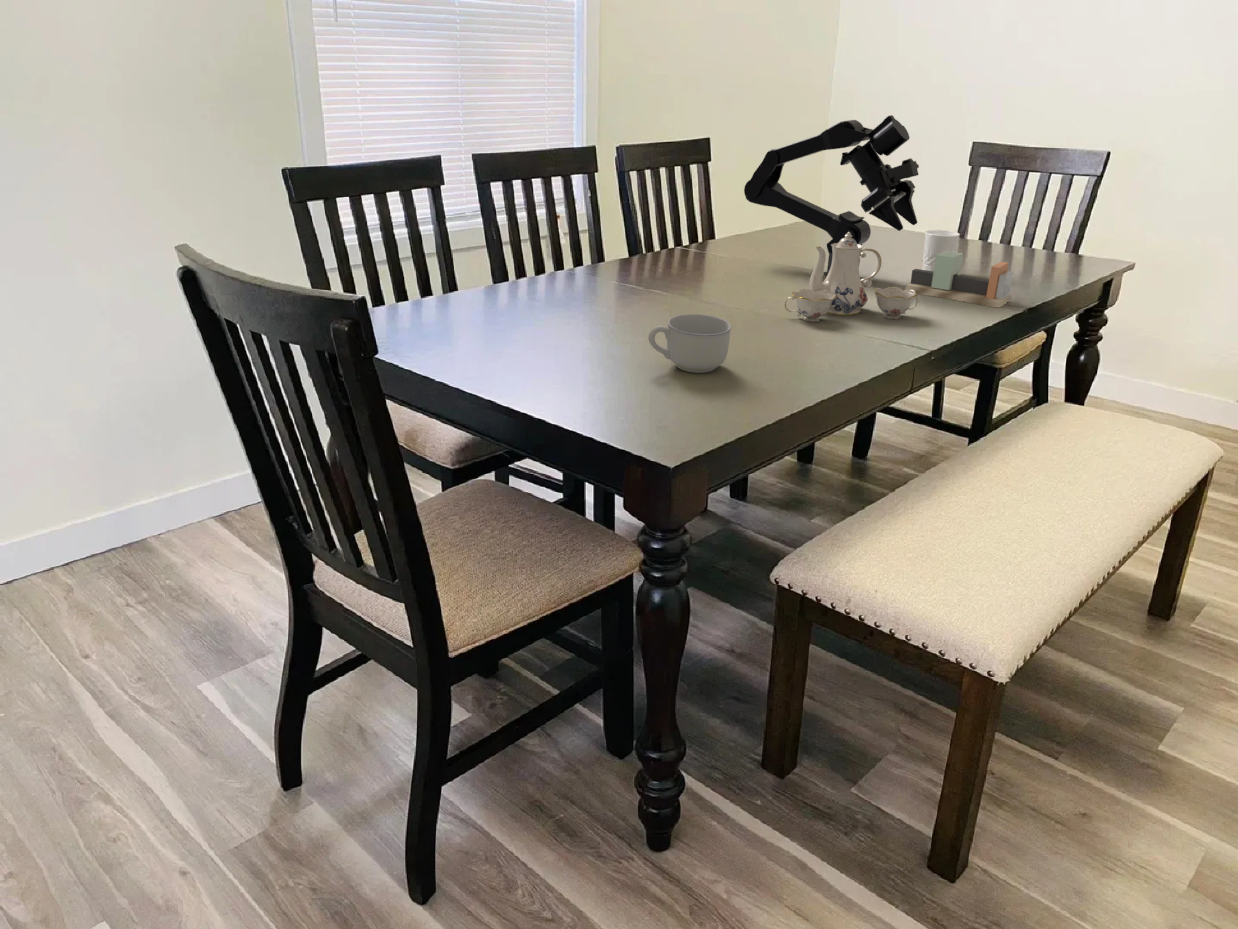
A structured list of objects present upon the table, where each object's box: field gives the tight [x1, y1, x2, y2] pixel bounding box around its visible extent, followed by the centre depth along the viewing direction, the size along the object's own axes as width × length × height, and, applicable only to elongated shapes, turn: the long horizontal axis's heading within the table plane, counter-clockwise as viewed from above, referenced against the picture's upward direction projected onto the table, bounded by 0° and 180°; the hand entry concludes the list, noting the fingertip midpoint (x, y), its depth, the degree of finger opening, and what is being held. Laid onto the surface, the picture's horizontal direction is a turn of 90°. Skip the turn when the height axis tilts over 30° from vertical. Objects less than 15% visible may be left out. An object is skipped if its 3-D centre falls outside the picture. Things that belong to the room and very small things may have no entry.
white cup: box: [921, 229, 961, 271], centre depth 223 cm, size 8×8×10 cm
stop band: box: [986, 261, 1010, 299], centre depth 198 cm, size 2×6×7 cm, turn 142°
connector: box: [995, 270, 1014, 300], centre depth 198 cm, size 1×5×5 cm, turn 142°
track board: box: [905, 282, 1011, 308], centre depth 205 cm, size 21×7×2 cm, turn 52°
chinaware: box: [784, 232, 918, 323], centre depth 187 cm, size 28×17×17 cm, turn 105°
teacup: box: [648, 313, 732, 374], centre depth 155 cm, size 14×11×8 cm
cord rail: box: [910, 268, 989, 296], centre depth 204 cm, size 20×2×3 cm, turn 52°
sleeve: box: [931, 251, 964, 290], centre depth 204 cm, size 4×6×7 cm
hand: (908, 226), depth 207 cm, fingers open, 9 cm apart
